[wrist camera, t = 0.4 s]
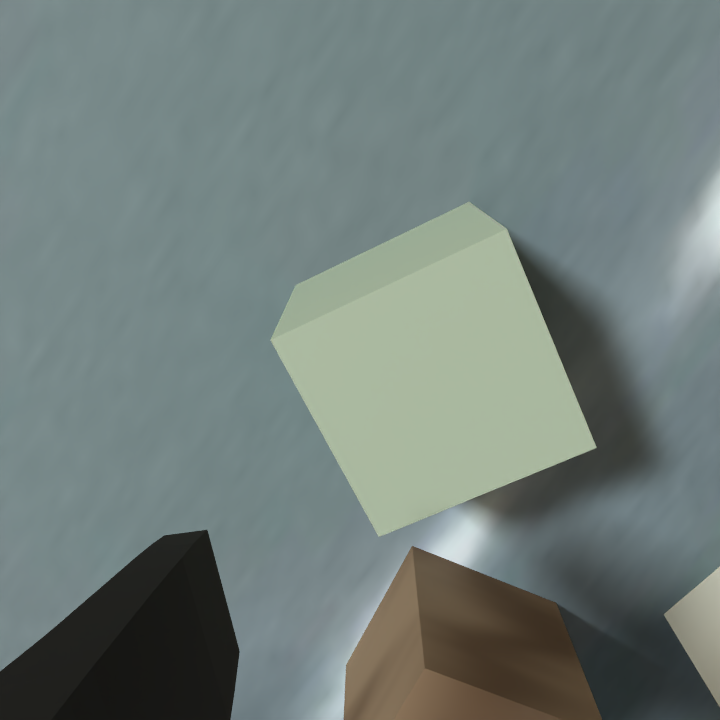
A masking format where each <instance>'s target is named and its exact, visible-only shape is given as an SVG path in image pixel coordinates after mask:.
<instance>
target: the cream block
mask: <svg viewBox="0 0 720 720" xmlns="http://www.w3.org/2000/svg"><path fill="white" fill-rule="evenodd" d="M664 616H665V618H666V619H667V621H668V623H669V624H670V626H671V628H672V629H673V631H674V633H675V634H676V636H677V638H678V639H679V641H680V642H681V644H682V646H683V647H684V649H685V651H686V652H687V654H688V656H689V657H690V659H691V661H692V662H693V664H694V666H695V667H696V669H697V670H698V672H699V674H700V675H701V677H702V679H703V680H704V682H705V684H706V685H707V687H708V689H709V690H710V692H711V694H712V695H713V697H714V699H715V700H716V702H717V703H718V705H719V707H720V567H719V568H718V569H716V570H715V571H714V572H713V573H712V574H711V575H709V576H708V577H707V578H706V579H705V580H703V581H702V582H701V583H700V584H699V585H698V586H696V587H695V588H694V589H693V590H692V591H691V592H689V593H688V594H687V595H686V596H685V597H683V598H682V599H681V600H680V601H679V602H678V603H676V604H675V605H674V606H673V607H672V608H670V609H669V610H668V611H667V612H666V613H665V614H664Z"/></svg>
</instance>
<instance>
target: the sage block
mask: <svg viewBox="0 0 720 720" xmlns="http://www.w3.org/2000/svg"><path fill="white" fill-rule="evenodd" d="M271 342H272V344H273V345H274V347H275V349H276V351H277V353H278V355H279V356H280V358H281V360H282V362H283V364H284V365H285V367H286V369H287V371H288V373H289V374H290V376H291V378H292V380H293V382H294V384H295V385H296V387H297V389H298V391H299V393H300V394H301V396H302V398H303V400H304V402H305V404H306V405H307V407H308V409H309V411H310V413H311V414H312V416H313V418H314V420H315V422H316V424H317V425H318V427H319V429H320V431H321V433H322V434H323V436H324V438H325V440H326V442H327V444H328V445H329V447H330V449H331V451H332V453H333V454H334V456H335V458H336V460H337V462H338V463H339V465H340V467H341V469H342V471H343V473H344V474H345V476H346V478H347V480H348V482H349V483H350V485H351V487H352V489H353V491H354V493H355V494H356V496H357V498H358V500H359V502H360V503H361V505H362V507H363V509H364V511H365V513H366V514H367V516H368V518H369V520H370V522H371V523H372V525H373V527H374V529H375V531H376V533H377V534H378V536H379V537H380V536H382V535H385V534H387V533H390V532H392V531H395V530H397V529H400V528H402V527H404V526H407V525H409V524H412V523H414V522H417V521H419V520H421V519H424V518H426V517H429V516H431V515H434V514H436V513H439V512H441V511H443V510H446V509H448V508H451V507H453V506H456V505H458V504H461V503H463V502H465V501H468V500H470V499H473V498H475V497H478V496H480V495H483V494H485V493H487V492H490V491H492V490H495V489H497V488H500V487H502V486H505V485H507V484H509V483H512V482H514V481H517V480H519V479H522V478H524V477H527V476H529V475H531V474H534V473H536V472H539V471H541V470H544V469H546V468H548V467H551V466H553V465H556V464H558V463H561V462H563V461H566V460H568V459H570V458H573V457H575V456H578V455H580V454H583V453H585V452H588V451H590V450H592V449H595V448H597V447H596V445H595V442H594V440H593V438H592V435H591V433H590V430H589V428H588V425H587V423H586V421H585V418H584V416H583V413H582V411H581V408H580V406H579V404H578V401H577V399H576V396H575V394H574V391H573V389H572V386H571V384H570V382H569V379H568V377H567V374H566V372H565V369H564V367H563V365H562V362H561V360H560V357H559V355H558V352H557V350H556V348H555V345H554V343H553V340H552V338H551V335H550V333H549V331H548V328H547V326H546V323H545V321H544V318H543V316H542V314H541V311H540V309H539V306H538V304H537V301H536V299H535V296H534V294H533V292H532V289H531V287H530V284H529V282H528V279H527V277H526V275H525V272H524V270H523V267H522V265H521V262H520V260H519V258H518V255H517V253H516V250H515V248H514V245H513V243H512V241H511V238H510V236H509V233H508V231H507V229H506V228H505V227H503V226H502V225H501V224H499V223H498V222H496V221H495V220H494V219H492V218H491V217H489V216H488V215H487V214H485V213H484V212H482V211H481V210H480V209H478V208H477V207H475V206H474V205H473V204H471V203H470V202H468V203H466V204H464V205H462V206H460V207H457V208H455V209H453V210H451V211H449V212H447V213H445V214H443V215H441V216H439V217H437V218H435V219H432V220H430V221H428V222H426V223H424V224H422V225H420V226H418V227H416V228H414V229H412V230H410V231H408V232H405V233H403V234H401V235H399V236H397V237H395V238H393V239H391V240H389V241H387V242H385V243H383V244H380V245H378V246H376V247H374V248H372V249H370V250H368V251H366V252H364V253H362V254H360V255H358V256H356V257H353V258H351V259H349V260H347V261H345V262H343V263H341V264H339V265H337V266H335V267H333V268H331V269H328V270H326V271H324V272H322V273H320V274H318V275H316V276H314V277H312V278H310V279H308V280H306V281H304V282H301V283H299V284H297V285H296V286H295V288H294V290H293V292H292V294H291V297H290V299H289V301H288V303H287V305H286V307H285V310H284V312H283V314H282V316H281V318H280V320H279V323H278V325H277V327H276V329H275V331H274V334H273V336H272V338H271Z"/></svg>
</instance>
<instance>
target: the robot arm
mask: <svg viewBox="0 0 720 720" xmlns="http://www.w3.org/2000/svg"><path fill="white" fill-rule="evenodd" d="M238 659H239V648H238V644H237V640H236V636H235V632H234V629H233V625H232V621H231V617H230V614H229V610H228V606H227V602H226V599H225V595H224V591H223V587H222V584H221V580H220V576H219V572H218V569H217V565H216V561H215V557H214V553H213V550H212V546H211V542H210V538H209V535H208V531H207V530H203V531H195V532H188V533H180V534H172V535H165V536H163V537H162V538H160V539H159V540H157V541H156V542H154V543H153V544H152V545H151V546H149V547H148V548H147V549H146V550H144V551H143V552H142V553H141V554H139V555H138V556H137V557H136V558H135V559H133V560H132V561H131V562H130V563H129V564H128V565H126V566H125V567H124V568H123V569H122V570H121V571H119V572H118V573H117V574H116V575H115V576H114V577H113V578H111V579H110V580H109V581H108V582H107V583H106V584H105V585H103V586H102V587H101V588H100V589H99V590H98V591H96V592H95V593H94V594H93V595H92V596H91V597H89V598H88V599H87V600H86V601H85V602H84V603H83V604H81V605H80V606H79V607H78V608H77V609H76V610H74V611H73V612H72V613H71V614H70V615H69V616H67V617H66V618H65V619H64V620H63V621H62V622H60V623H59V624H58V625H57V626H56V627H55V628H53V629H52V630H51V631H50V632H49V633H48V634H46V635H45V636H44V637H43V638H41V639H40V640H39V641H38V642H36V643H35V644H34V645H33V646H31V647H30V648H29V649H28V650H26V651H25V652H24V653H23V654H21V655H20V656H19V657H18V658H17V659H15V660H14V661H13V662H12V663H10V664H9V665H8V666H7V667H5V668H4V669H3V670H2V671H0V720H230V718H231V711H232V705H233V698H234V691H235V683H236V675H237V667H238Z"/></svg>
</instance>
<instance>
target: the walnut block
mask: <svg viewBox="0 0 720 720" xmlns="http://www.w3.org/2000/svg"><path fill="white" fill-rule="evenodd" d="M344 720H602V718H601V715H600V713H599V710H598V708H597V705H596V703H595V700H594V698H593V695H592V692H591V690H590V687H589V685H588V682H587V680H586V677H585V675H584V672H583V670H582V667H581V665H580V662H579V659H578V657H577V654H576V652H575V649H574V647H573V644H572V642H571V639H570V637H569V634H568V632H567V629H566V627H565V624H564V621H563V619H562V616H561V614H560V611H559V609H558V606H557V604H556V603H555V602H553V601H550V600H547V599H545V598H542V597H540V596H537V595H535V594H532V593H530V592H527V591H525V590H522V589H520V588H517V587H515V586H512V585H510V584H507V583H505V582H502V581H499V580H497V579H494V578H492V577H489V576H487V575H484V574H482V573H479V572H477V571H474V570H472V569H469V568H467V567H464V566H462V565H459V564H457V563H454V562H451V561H449V560H446V559H444V558H441V557H439V556H436V555H434V554H431V553H429V552H426V551H424V550H421V549H419V548H416V547H414V546H412V547H411V549H410V551H409V553H408V554H407V556H406V558H405V560H404V562H403V563H402V565H401V567H400V569H399V571H398V573H397V574H396V576H395V578H394V580H393V582H392V583H391V585H390V587H389V589H388V591H387V592H386V594H385V596H384V598H383V600H382V601H381V603H380V605H379V607H378V609H377V610H376V612H375V614H374V616H373V618H372V619H371V621H370V623H369V625H368V627H367V628H366V630H365V632H364V634H363V636H362V638H361V639H360V641H359V643H358V645H357V647H356V648H355V650H354V652H353V654H352V656H351V657H350V659H349V661H348V663H347V665H346V681H345V704H344Z"/></svg>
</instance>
